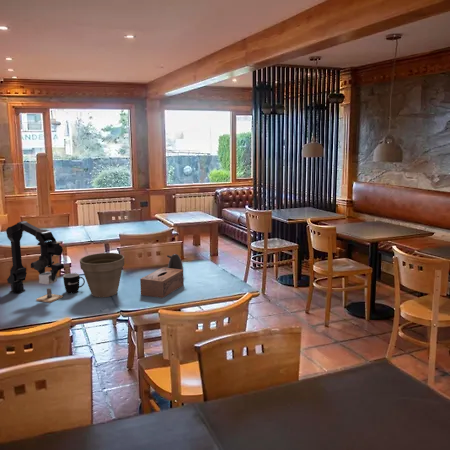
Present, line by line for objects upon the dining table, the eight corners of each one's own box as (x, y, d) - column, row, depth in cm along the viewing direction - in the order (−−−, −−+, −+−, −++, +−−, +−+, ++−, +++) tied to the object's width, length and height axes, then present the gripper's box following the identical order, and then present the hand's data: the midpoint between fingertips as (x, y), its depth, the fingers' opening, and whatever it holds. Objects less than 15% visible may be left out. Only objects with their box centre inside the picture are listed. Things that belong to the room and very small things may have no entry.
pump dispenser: (168, 274, 322) (168, 252, 319) (184, 274, 321) (183, 252, 318) (166, 278, 311) (165, 255, 309) (182, 279, 311) (181, 256, 308)
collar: (39, 283, 271) (38, 274, 270) (47, 279, 277) (46, 271, 276) (49, 284, 269) (48, 275, 268) (56, 281, 275) (56, 272, 274)
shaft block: (36, 300, 272) (35, 290, 271) (48, 295, 281) (47, 285, 280) (50, 302, 269) (50, 292, 268) (62, 297, 278) (62, 287, 277)
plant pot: (85, 303, 267) (83, 265, 263) (78, 290, 289) (76, 255, 285) (130, 296, 278) (128, 260, 274) (120, 285, 299) (118, 250, 295)
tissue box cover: (163, 282, 304) (162, 267, 302) (183, 285, 299) (183, 269, 297) (140, 295, 281) (140, 278, 279) (162, 298, 275) (162, 281, 274)
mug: (65, 295, 281) (64, 278, 280) (63, 290, 289) (62, 274, 287) (86, 291, 287) (85, 275, 285) (83, 287, 295) (82, 271, 293)
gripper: (22, 255, 266) (24, 282, 269) (49, 258, 260) (51, 286, 262) (36, 250, 276) (38, 277, 279) (63, 253, 270) (65, 280, 273)
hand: (48, 280), depth 273 cm, fingers closed on collar, 7 cm apart
